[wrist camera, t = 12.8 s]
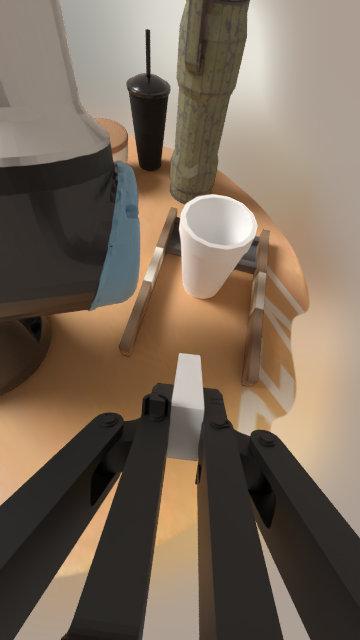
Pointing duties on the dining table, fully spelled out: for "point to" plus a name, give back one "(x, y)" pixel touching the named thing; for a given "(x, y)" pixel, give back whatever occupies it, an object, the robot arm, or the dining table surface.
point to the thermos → (205, 90)
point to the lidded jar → (116, 139)
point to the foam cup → (213, 241)
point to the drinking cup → (148, 113)
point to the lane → (249, 263)
